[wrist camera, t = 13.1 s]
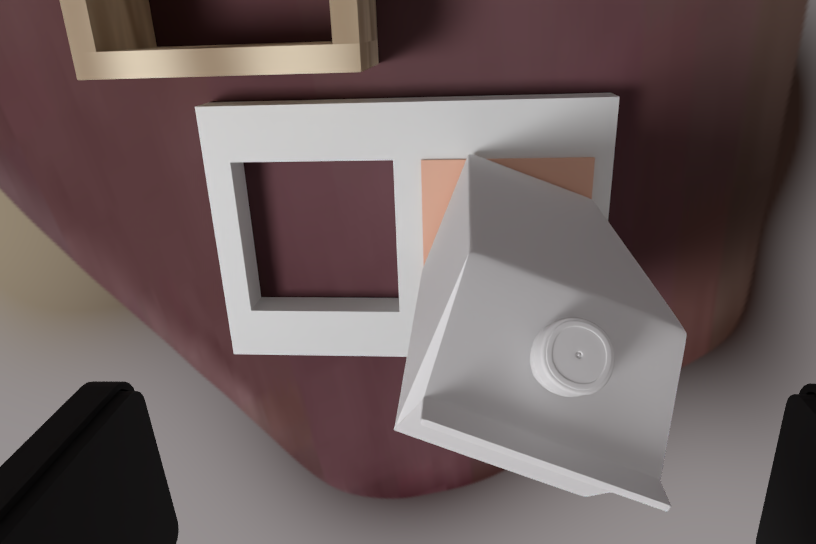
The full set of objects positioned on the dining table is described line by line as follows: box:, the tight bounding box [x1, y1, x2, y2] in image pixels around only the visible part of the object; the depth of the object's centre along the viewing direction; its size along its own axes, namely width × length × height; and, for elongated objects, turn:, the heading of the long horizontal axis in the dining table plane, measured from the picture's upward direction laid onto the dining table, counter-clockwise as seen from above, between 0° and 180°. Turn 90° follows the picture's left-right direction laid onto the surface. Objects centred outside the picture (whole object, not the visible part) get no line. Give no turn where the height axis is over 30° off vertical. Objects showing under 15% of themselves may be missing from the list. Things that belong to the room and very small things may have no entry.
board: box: [195, 93, 620, 357], centre depth 35 cm, size 22×15×2 cm
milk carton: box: [394, 154, 687, 512], centre depth 25 cm, size 7×7×19 cm
